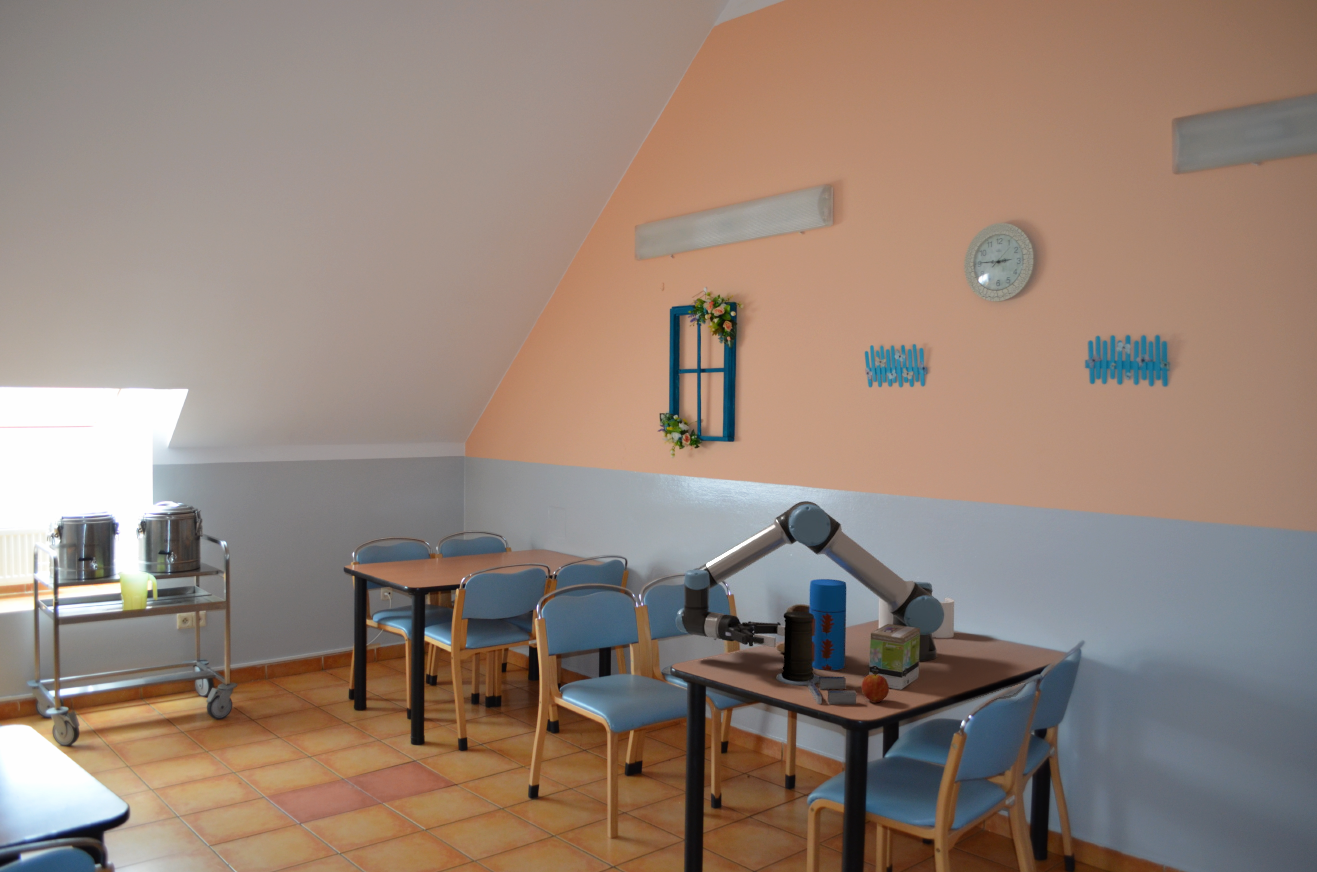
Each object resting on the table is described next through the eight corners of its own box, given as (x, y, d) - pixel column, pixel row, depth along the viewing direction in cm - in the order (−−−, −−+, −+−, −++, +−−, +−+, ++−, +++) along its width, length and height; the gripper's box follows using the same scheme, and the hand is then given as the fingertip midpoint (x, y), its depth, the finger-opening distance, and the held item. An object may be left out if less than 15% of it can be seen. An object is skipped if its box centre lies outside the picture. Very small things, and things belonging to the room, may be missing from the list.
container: (814, 674, 272) (815, 611, 271) (812, 682, 263) (813, 618, 263) (783, 671, 274) (784, 609, 273) (780, 680, 265) (781, 616, 265)
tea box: (903, 690, 259) (904, 636, 258) (867, 684, 264) (868, 632, 264) (919, 677, 272) (920, 626, 271) (885, 672, 277) (886, 622, 277)
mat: (815, 673, 275) (815, 671, 275) (823, 685, 263) (823, 683, 263) (774, 673, 274) (774, 671, 274) (779, 685, 262) (779, 683, 262)
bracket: (879, 635, 323) (880, 600, 323) (877, 629, 333) (878, 594, 332) (955, 638, 320) (956, 603, 319) (951, 632, 329) (951, 597, 329)
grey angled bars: (844, 687, 261) (844, 676, 261) (856, 704, 246) (856, 692, 246) (807, 687, 261) (808, 676, 261) (817, 703, 246) (817, 692, 246)
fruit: (855, 699, 251) (856, 669, 250) (875, 695, 254) (876, 665, 254) (874, 706, 245) (874, 675, 244) (894, 702, 248) (894, 672, 248)
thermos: (844, 671, 277) (846, 586, 277) (807, 668, 279) (809, 584, 279) (845, 661, 288) (846, 579, 287) (809, 659, 290) (810, 578, 289)
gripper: (744, 631, 293) (806, 642, 280) (700, 647, 273) (764, 659, 260) (745, 607, 293) (807, 617, 280) (700, 621, 273) (765, 632, 260)
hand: (786, 637), depth 270 cm, fingers open, 13 cm apart
